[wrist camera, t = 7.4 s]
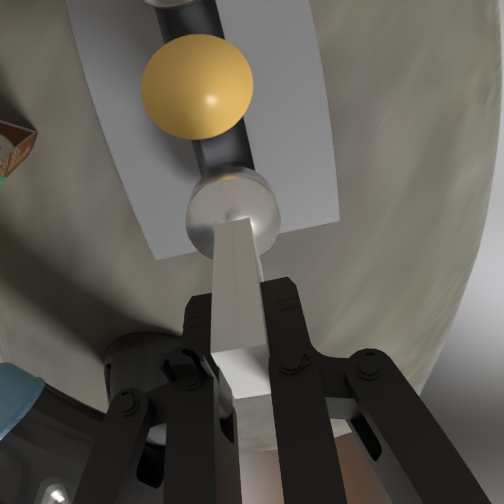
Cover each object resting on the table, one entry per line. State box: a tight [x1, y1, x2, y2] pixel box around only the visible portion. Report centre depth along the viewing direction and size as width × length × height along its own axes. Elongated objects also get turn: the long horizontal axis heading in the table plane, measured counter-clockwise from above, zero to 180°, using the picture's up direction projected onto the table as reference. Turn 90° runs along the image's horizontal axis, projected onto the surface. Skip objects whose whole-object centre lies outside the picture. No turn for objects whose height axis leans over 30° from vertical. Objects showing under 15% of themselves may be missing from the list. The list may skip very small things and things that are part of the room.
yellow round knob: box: [141, 34, 253, 140], centre depth 14 cm, size 5×5×6 cm
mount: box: [66, 0, 340, 260], centre depth 18 cm, size 15×23×6 cm, turn 12°
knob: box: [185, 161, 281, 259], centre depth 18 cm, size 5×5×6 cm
